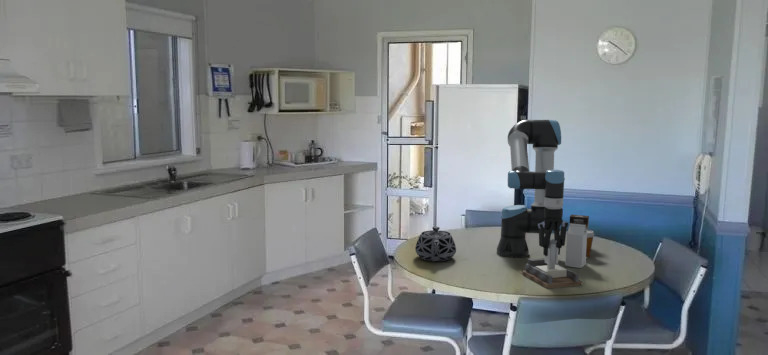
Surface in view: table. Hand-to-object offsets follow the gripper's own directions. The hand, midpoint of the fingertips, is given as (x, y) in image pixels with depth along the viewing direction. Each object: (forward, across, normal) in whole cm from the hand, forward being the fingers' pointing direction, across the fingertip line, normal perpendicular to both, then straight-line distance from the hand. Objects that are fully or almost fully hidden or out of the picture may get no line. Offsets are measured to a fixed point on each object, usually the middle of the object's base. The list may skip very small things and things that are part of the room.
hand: (551, 262), depth 261 cm
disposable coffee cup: (+7, +35, +30) cm, 46 cm away
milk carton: (+7, +22, +16) cm, 28 cm away
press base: (+7, 0, 0) cm, 7 cm away
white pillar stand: (+5, 0, 0) cm, 5 cm away
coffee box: (+7, +42, +44) cm, 62 cm away
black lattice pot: (+7, -35, +44) cm, 57 cm away
